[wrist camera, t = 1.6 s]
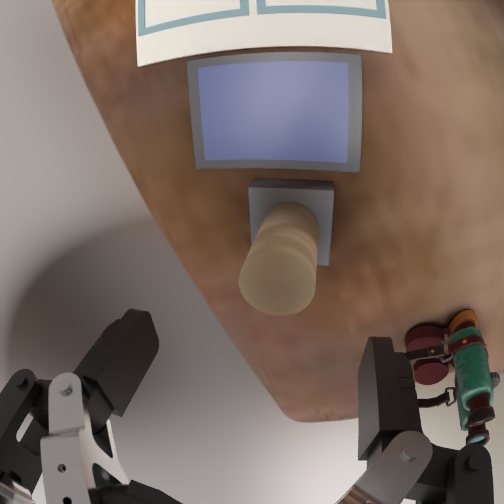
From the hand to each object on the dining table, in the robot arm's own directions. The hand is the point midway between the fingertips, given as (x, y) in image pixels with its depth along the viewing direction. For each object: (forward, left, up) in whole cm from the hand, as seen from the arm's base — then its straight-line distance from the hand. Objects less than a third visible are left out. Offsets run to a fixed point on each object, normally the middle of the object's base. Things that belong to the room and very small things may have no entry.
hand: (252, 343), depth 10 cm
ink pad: (+1, -7, -11) cm, 13 cm away
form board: (+2, -17, -11) cm, 21 cm away
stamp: (0, 0, -11) cm, 11 cm away
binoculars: (-14, +12, -12) cm, 22 cm away
